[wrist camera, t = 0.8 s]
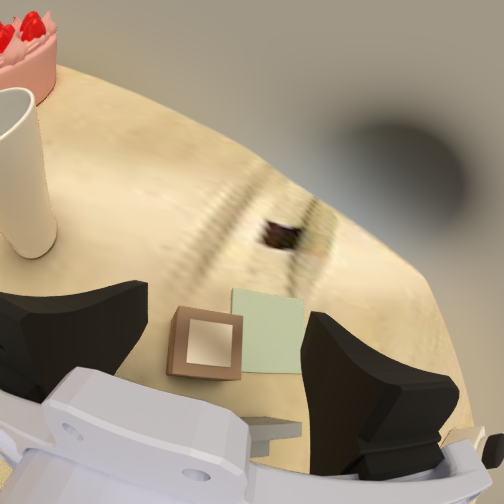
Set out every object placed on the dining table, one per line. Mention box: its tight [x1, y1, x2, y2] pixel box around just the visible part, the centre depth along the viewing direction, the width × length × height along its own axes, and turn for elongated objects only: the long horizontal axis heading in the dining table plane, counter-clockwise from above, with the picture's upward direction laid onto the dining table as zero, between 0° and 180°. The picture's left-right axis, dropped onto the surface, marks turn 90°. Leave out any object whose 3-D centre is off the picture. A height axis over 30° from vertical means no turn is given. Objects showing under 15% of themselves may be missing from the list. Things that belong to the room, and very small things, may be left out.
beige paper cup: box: [0, 87, 57, 259], centre depth 15 cm, size 7×7×15 cm
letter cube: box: [166, 306, 243, 381], centre depth 21 cm, size 5×5×5 cm
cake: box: [0, 10, 57, 106], centre depth 19 cm, size 20×20×14 cm
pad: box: [231, 288, 305, 374], centre depth 26 cm, size 8×8×1 cm
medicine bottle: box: [440, 426, 504, 469], centre depth 22 cm, size 7×7×12 cm
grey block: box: [239, 417, 302, 457], centre depth 17 cm, size 4×14×6 cm, turn 89°
